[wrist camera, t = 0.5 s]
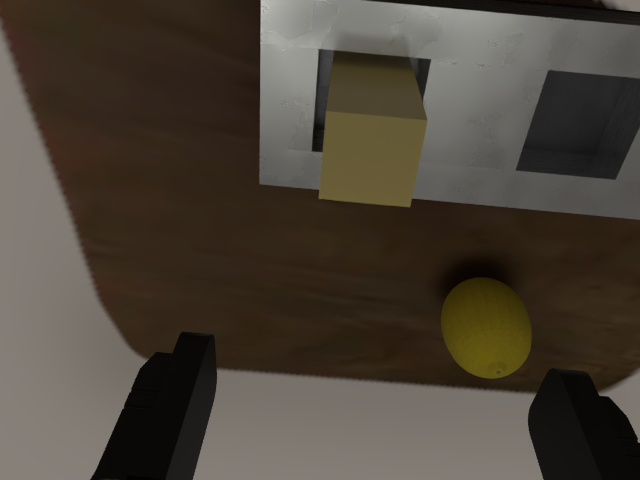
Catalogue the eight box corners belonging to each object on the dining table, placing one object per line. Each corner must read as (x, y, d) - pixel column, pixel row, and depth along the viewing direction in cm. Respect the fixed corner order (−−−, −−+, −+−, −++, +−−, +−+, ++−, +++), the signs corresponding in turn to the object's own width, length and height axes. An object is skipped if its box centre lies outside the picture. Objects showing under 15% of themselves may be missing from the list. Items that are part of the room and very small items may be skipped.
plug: (334, 47, 28) (326, 111, 20) (409, 54, 28) (427, 120, 20) (326, 131, 30) (317, 214, 23) (395, 138, 30) (406, 222, 23)
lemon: (522, 299, 38) (557, 389, 31) (449, 322, 39) (467, 411, 33) (500, 243, 35) (533, 328, 28) (422, 270, 37) (436, 356, 30)
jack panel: (271, -22, 26) (260, -9, 24) (704, 17, 26) (746, 35, 23) (268, 156, 32) (259, 184, 29) (622, 189, 32) (648, 220, 29)
